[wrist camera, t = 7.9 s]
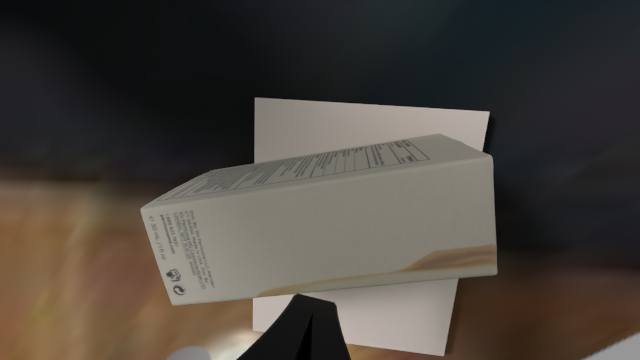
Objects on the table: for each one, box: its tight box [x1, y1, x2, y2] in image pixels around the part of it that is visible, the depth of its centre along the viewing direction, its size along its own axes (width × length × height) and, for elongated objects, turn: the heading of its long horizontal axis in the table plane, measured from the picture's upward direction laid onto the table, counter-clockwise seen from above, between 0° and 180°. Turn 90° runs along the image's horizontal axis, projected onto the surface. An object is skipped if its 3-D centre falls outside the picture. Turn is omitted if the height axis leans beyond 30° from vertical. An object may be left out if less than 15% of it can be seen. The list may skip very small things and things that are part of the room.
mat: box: [253, 98, 490, 356], centre depth 17 cm, size 12×14×1 cm
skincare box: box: [141, 133, 497, 305], centre depth 14 cm, size 6×4×12 cm
